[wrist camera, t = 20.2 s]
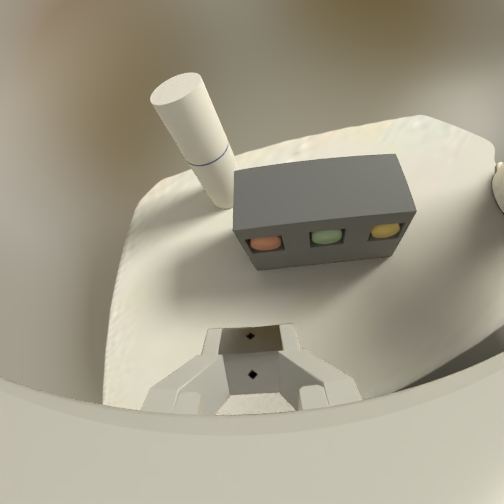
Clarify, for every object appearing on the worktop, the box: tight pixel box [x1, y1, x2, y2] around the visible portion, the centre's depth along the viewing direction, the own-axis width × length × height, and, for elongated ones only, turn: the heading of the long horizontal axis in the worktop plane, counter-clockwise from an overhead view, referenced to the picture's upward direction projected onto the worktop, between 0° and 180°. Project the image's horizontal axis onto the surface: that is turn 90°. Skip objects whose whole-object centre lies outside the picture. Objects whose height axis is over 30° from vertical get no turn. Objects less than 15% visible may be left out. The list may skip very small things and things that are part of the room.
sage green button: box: [311, 229, 342, 244], centre depth 36 cm, size 4×3×4 cm
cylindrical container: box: [150, 73, 240, 209], centre depth 41 cm, size 7×7×25 cm
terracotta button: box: [250, 236, 281, 250], centre depth 37 cm, size 4×3×4 cm
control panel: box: [233, 154, 417, 270], centre depth 39 cm, size 22×9×14 cm, turn 91°
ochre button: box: [371, 223, 400, 238], centre depth 34 cm, size 4×3×4 cm
